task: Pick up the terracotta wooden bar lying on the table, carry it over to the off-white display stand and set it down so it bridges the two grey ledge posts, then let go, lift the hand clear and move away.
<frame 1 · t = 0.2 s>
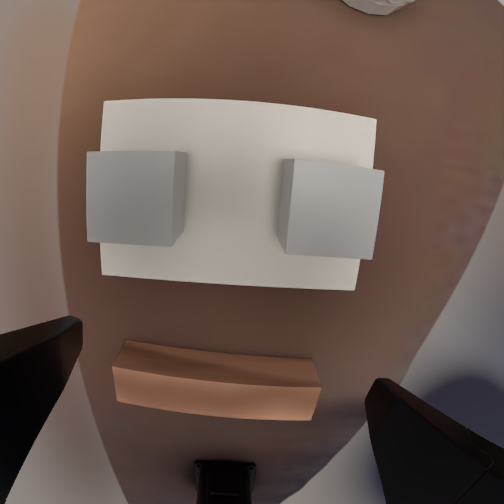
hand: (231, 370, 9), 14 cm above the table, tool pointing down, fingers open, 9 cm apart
display stand: (233, 192, 21), on the table
terracotta bar: (217, 367, 25), on the table
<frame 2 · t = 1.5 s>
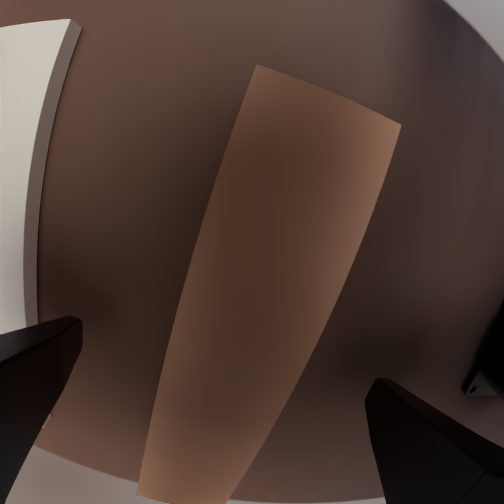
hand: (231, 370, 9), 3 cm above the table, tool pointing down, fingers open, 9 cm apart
terracotta bar: (230, 316, 12), on the table
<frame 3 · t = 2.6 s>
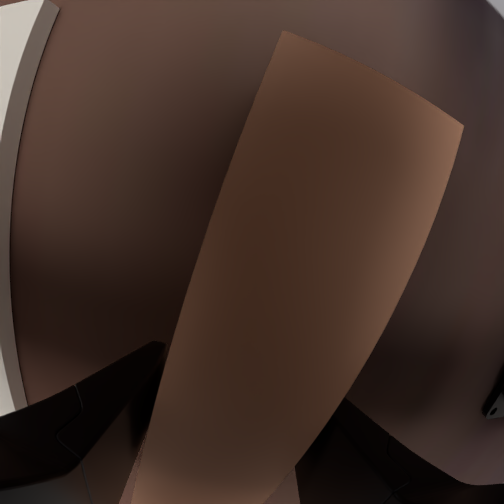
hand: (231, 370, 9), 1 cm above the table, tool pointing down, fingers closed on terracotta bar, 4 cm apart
terracotta bar: (232, 346, 10), on the table, touching gripper
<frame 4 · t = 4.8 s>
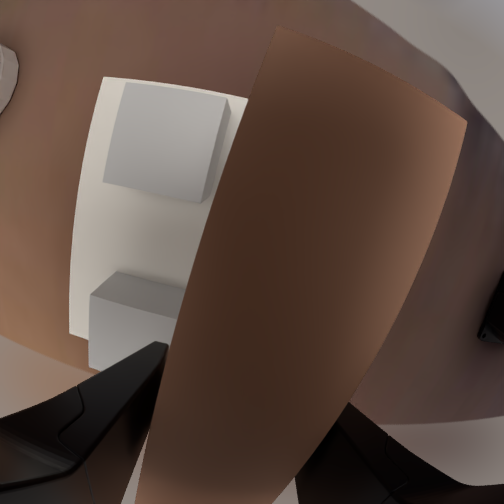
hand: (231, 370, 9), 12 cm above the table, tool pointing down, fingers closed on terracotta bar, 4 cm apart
display stand: (163, 231, 20), on the table
terracotta bar: (233, 351, 10), point 11 cm above the table, touching gripper
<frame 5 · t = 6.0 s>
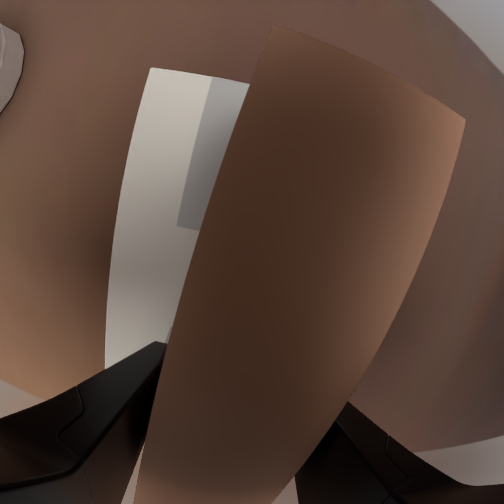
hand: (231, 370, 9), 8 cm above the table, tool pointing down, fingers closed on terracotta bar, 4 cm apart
display stand: (232, 275, 16), on the table
terracotta bar: (232, 351, 10), point 7 cm above the table, touching gripper
when the fingers open (7 cm above the table, at t = 6.7 s): terracotta bar drops 1 cm, resting on display stand.
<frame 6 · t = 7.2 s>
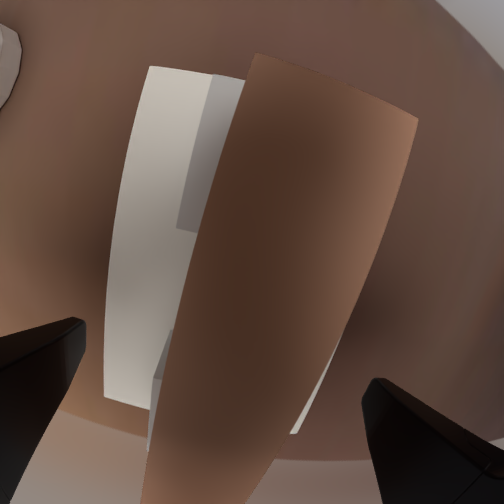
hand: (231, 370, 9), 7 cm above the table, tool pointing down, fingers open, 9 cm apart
display stand: (233, 278, 16), on the table
terracotta bar: (232, 329, 11), point 5 cm above the table, touching display stand
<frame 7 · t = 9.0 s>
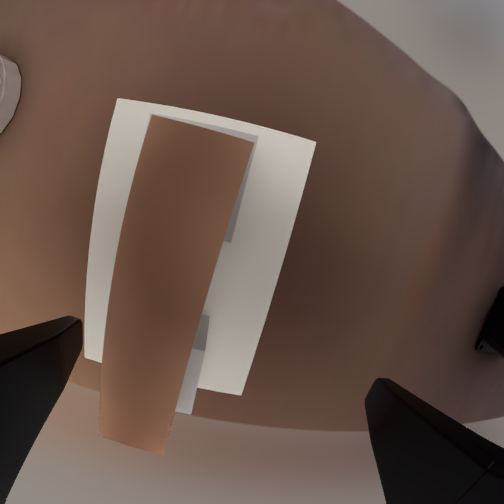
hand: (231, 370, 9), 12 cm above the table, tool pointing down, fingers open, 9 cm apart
display stand: (181, 259, 20), on the table
terracotta bar: (167, 290, 15), point 5 cm above the table, touching display stand
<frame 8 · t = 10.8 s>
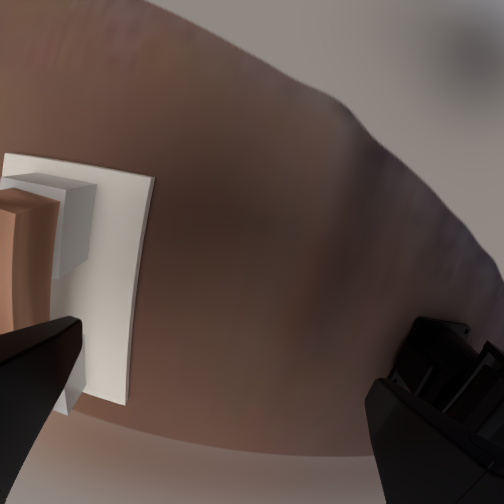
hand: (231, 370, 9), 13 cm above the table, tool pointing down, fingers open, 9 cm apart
display stand: (62, 285, 21), on the table
terracotta bar: (27, 314, 16), point 5 cm above the table, touching display stand
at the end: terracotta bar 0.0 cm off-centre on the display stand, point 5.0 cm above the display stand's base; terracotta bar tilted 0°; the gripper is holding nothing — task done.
